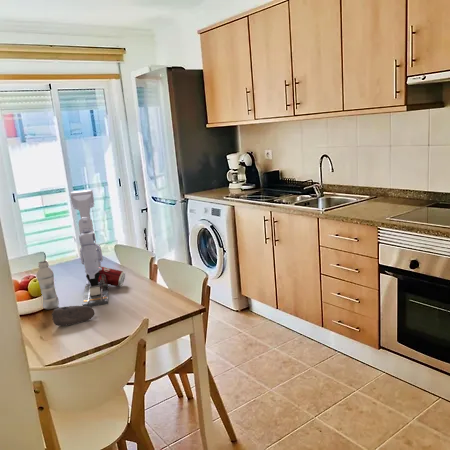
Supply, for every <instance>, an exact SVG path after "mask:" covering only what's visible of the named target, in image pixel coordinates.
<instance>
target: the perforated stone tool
mask: <svg viewBox="0 0 450 450" xmlns="http://www.w3.org/2000/svg"><path fill="white" fill-rule="evenodd" d="M95 314H96V312H95V310H94V308H92V307H88V306H83V305H69V306H62V307H56V308H54V309H53V311H52V313H51V316H52V322H53V324H54V325H55V326H56V327H60V326H61V327H65V326H71V325H72V326H73V325H76V324H79V323H80V324H81V323H83V322H88V321H90V320H91V319H93V317H95Z"/></svg>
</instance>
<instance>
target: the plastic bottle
mask: <svg viewBox="0 0 450 450" xmlns="http://www.w3.org/2000/svg"><path fill="white" fill-rule="evenodd" d="M37 265H38V266H37V267H38V268H39V269H38V270H37V272H36V279H37V281H38V284H39V288H40V293H41V294H42V295H41V297H42V296H43V306H42V308H44V309H45V310H52V309H53V310H54V309H56V308H58V307H59V304H60V300H59V297H58V295H57V292H56V287H55V278H54V276H55V275H54V270H52V269H51V268H50V267H49V262H48V260H42V261H39V262H37Z"/></svg>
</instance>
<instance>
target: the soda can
mask: <svg viewBox="0 0 450 450" xmlns="http://www.w3.org/2000/svg"><path fill="white" fill-rule="evenodd" d="M100 267H102V270H99V272H100V276H99V279H98V282H99V283H98V284H101V283H104V284H108V286H114V287H118V288H120V287H122V286H123V285H124V283H125V280H126V272H125V271H123V270H120V269H116V268H115V269H114V268H110V267H105V266H102V265H101V266H100ZM100 267H99V268H100Z"/></svg>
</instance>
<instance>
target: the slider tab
mask: <svg viewBox="0 0 450 450" xmlns="http://www.w3.org/2000/svg"><path fill="white" fill-rule="evenodd" d="M99 294H100V286H99V285H96V286H90V295H91V296H93V295H99Z"/></svg>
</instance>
